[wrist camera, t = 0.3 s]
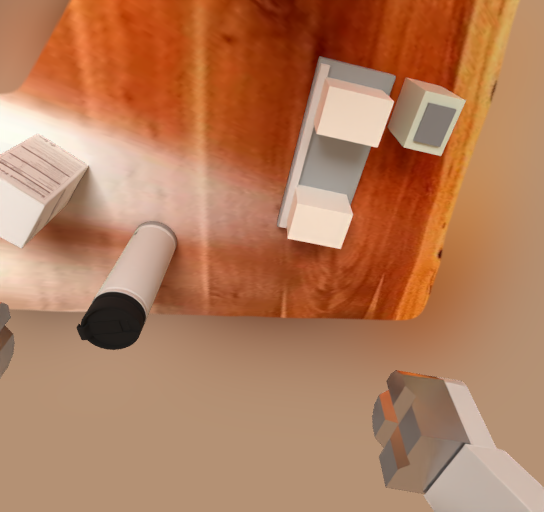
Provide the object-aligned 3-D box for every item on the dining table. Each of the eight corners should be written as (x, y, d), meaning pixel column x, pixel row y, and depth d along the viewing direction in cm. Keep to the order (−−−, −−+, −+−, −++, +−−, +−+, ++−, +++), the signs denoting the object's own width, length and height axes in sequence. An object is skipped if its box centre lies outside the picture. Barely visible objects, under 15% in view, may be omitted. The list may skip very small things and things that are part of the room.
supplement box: (68, 204, 58) (21, 251, 48) (17, 172, 56) (-45, 215, 45) (91, 165, 55) (46, 206, 45) (38, 130, 53) (-23, 164, 42)
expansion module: (405, 77, 49) (427, 91, 42) (440, 85, 49) (467, 101, 42) (387, 127, 52) (404, 148, 45) (420, 135, 52) (442, 157, 45)
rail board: (319, 56, 48) (324, 65, 41) (392, 74, 48) (409, 86, 42) (277, 221, 59) (276, 248, 53) (337, 233, 60) (344, 261, 54)
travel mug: (127, 222, 60) (67, 312, 43) (172, 219, 59) (129, 309, 42) (138, 258, 63) (86, 355, 46) (180, 256, 63) (144, 352, 46)
